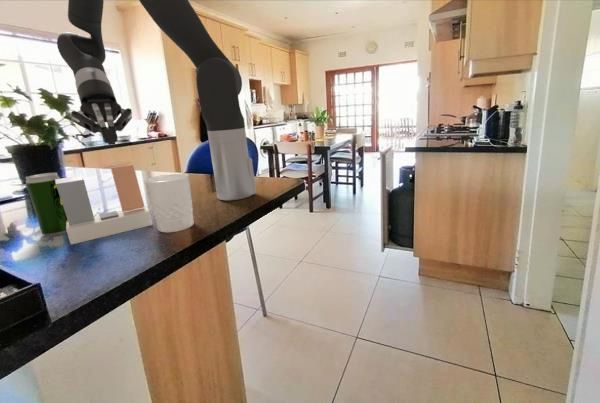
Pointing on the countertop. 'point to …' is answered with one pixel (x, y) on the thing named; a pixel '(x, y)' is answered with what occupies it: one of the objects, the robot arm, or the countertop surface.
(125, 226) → the switch strip
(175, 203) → the white cup
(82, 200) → the grey rectangular block
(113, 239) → the countertop surface
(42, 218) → the green coffee cup
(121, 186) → the brown rectangular block
